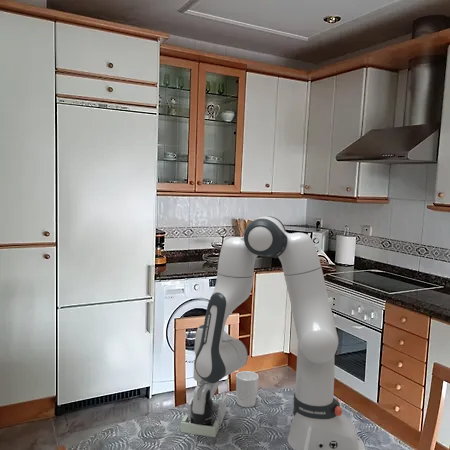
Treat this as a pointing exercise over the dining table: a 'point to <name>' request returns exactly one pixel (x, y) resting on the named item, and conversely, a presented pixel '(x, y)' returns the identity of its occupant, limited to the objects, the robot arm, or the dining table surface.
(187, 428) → the dock
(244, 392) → the white cup
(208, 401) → the supplement bottle
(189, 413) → the channel
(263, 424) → the dining table surface
